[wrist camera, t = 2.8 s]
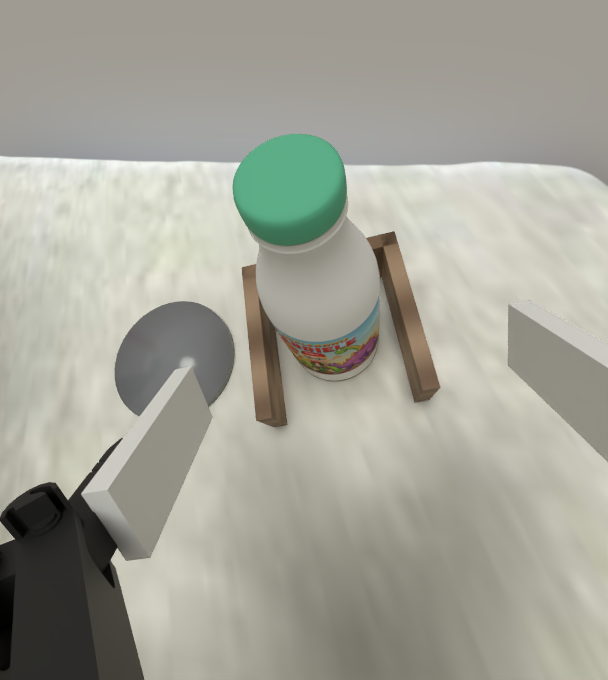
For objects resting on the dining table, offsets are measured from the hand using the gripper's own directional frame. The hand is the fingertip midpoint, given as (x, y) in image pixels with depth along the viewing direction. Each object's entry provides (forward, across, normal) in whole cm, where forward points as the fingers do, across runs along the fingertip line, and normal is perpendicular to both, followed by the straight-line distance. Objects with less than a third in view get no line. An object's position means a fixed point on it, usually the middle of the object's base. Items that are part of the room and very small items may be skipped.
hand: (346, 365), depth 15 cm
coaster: (+17, -17, -6) cm, 25 cm away
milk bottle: (+16, -1, -6) cm, 18 cm away
